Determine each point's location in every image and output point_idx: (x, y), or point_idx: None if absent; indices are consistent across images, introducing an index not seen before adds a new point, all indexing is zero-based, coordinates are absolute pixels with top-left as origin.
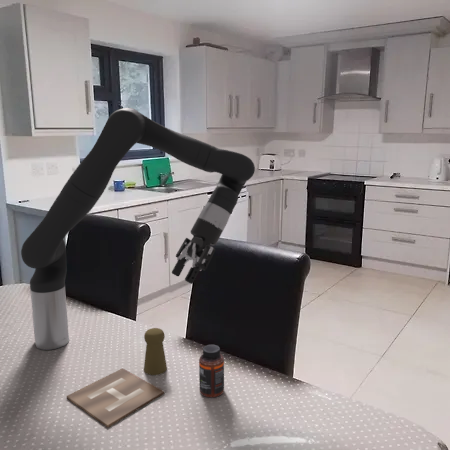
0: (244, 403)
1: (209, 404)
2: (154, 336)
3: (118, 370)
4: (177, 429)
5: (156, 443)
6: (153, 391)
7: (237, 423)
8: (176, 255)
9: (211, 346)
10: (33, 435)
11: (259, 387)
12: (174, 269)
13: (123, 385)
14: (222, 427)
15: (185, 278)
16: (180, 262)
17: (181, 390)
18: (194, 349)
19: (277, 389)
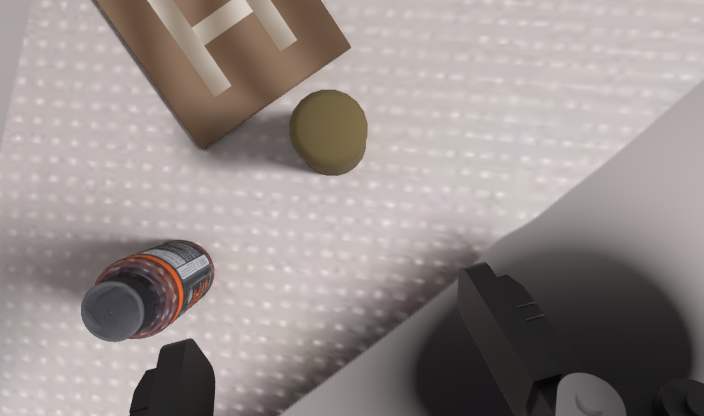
0: None
1: (131, 251)
2: (291, 123)
3: (340, 33)
4: (54, 158)
5: (16, 103)
6: (207, 120)
7: (45, 296)
8: (688, 396)
9: (124, 315)
10: None
11: None
12: (478, 295)
13: (257, 42)
14: (39, 259)
15: (175, 349)
16: (527, 391)
17: (208, 195)
18: (413, 273)
19: None
